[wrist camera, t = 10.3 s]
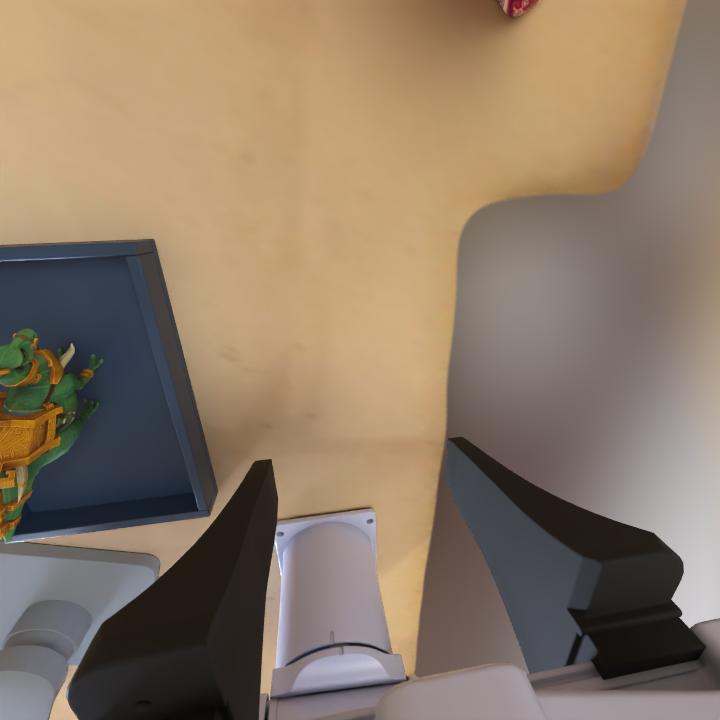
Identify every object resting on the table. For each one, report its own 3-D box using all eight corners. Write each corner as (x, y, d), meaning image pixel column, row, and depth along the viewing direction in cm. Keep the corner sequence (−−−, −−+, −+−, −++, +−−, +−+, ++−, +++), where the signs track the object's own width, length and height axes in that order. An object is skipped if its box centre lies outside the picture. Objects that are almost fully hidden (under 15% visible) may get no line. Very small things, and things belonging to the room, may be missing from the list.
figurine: (121, 314, 19) (-4, 379, 11) (93, 482, 22) (-14, 615, 15) (56, 294, 18) (-126, 351, 10) (38, 472, 21) (-104, 608, 14)
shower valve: (-98, 767, 23) (-132, 624, 18) (-26, 669, 28) (-37, 536, 23) (108, 758, 26) (127, 635, 21) (140, 671, 31) (161, 555, 26)
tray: (218, 491, 25) (210, 516, 22) (32, 514, 23) (4, 544, 21) (154, 239, 18) (134, 241, 16) (-114, 249, 16) (-176, 254, 14)
